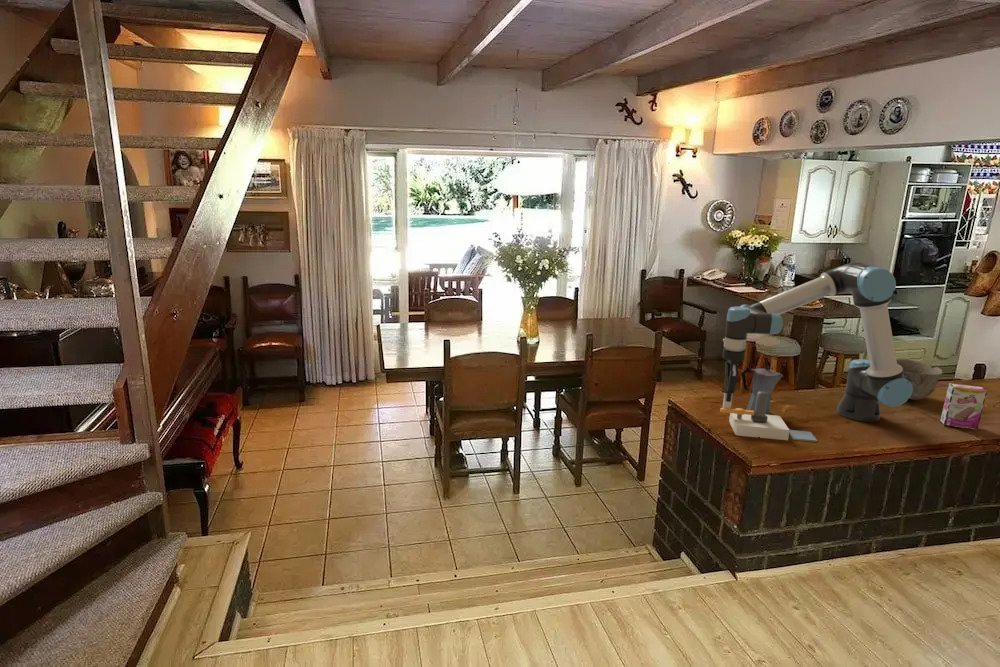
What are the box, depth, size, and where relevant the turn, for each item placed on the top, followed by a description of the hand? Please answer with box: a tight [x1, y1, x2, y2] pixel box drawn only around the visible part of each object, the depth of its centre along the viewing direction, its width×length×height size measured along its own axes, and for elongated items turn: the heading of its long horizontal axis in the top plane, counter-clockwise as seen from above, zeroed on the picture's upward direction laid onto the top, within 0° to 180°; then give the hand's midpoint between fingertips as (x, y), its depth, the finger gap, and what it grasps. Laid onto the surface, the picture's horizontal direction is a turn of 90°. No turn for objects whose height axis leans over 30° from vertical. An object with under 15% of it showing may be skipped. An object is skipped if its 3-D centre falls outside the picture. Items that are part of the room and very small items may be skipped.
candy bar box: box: [939, 382, 988, 430], centre depth 229 cm, size 11×5×16 cm, turn 71°
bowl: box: [896, 358, 944, 401], centre depth 260 cm, size 22×22×15 cm
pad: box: [789, 429, 818, 443], centre depth 218 cm, size 8×8×1 cm
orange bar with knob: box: [719, 407, 754, 415], centre depth 222 cm, size 12×3×1 cm, turn 79°
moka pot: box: [741, 365, 784, 415], centre depth 238 cm, size 10×15×20 cm, turn 78°
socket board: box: [728, 413, 791, 441], centre depth 222 cm, size 18×14×6 cm
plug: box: [751, 391, 768, 423], centre depth 221 cm, size 6×6×15 cm
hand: (726, 408), depth 224 cm, fingers closed
